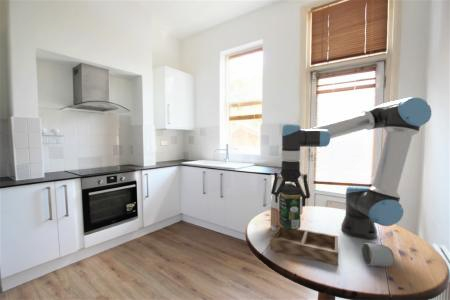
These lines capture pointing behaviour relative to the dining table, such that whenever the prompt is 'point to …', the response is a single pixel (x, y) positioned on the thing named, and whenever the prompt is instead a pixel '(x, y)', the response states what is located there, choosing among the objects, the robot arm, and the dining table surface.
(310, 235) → the wooden divided tray
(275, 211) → the fruit juice
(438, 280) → the dining table surface
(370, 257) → the ceramic mug
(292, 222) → the coffee jar
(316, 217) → the dining table surface
